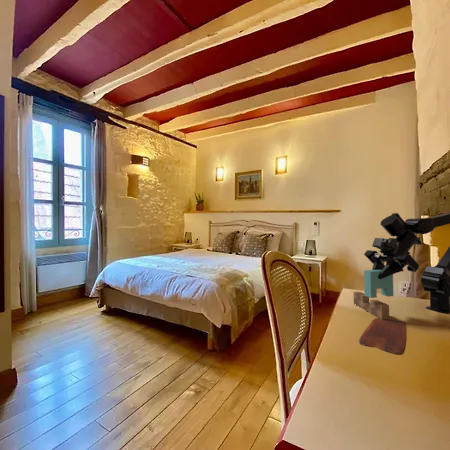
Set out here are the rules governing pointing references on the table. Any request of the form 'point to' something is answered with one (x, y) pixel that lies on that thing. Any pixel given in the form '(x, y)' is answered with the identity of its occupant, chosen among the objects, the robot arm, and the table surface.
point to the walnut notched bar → (372, 305)
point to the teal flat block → (377, 284)
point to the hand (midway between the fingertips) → (375, 277)
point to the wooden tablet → (385, 335)
